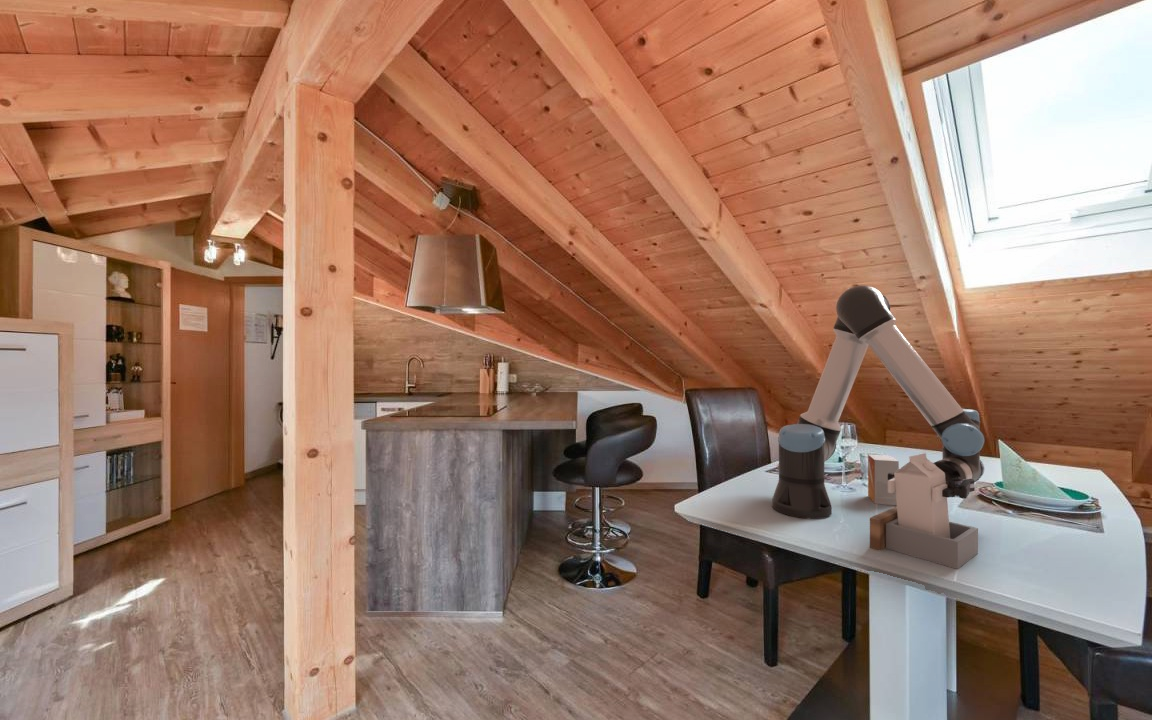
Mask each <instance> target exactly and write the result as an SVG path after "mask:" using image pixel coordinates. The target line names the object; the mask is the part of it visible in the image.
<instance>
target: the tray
mask: <svg viewBox="0 0 1152 720" xmlns="http://www.w3.org/2000/svg"><path fill="white" fill-rule="evenodd" d="M949 527H950V538H946V537H942V536H938V535H934V534H930V533H926V532H922V531H918V530H914V529H910V528H906V527H903V526H899V525H898V518H897V519H895V520H892V521H890V522H888V523H886V547H885V549H887V550H890V551H894V552H898V553H901V554H904V555H908V556H911V557H914V558H918V559H921V560H925V561H929V562H931V563H935V564H939V565H942V566H945V567H949V568H953V569H956V570H959V569H960V568H961V567H962V566H964V565H965V564H967V562H969V561H970V560H972V559H973V558H975V557H976V556H977V555H978V554H979V528H978V527H974V526H969V525H966V524H961V523H956V522H952V521H949Z"/></svg>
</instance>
